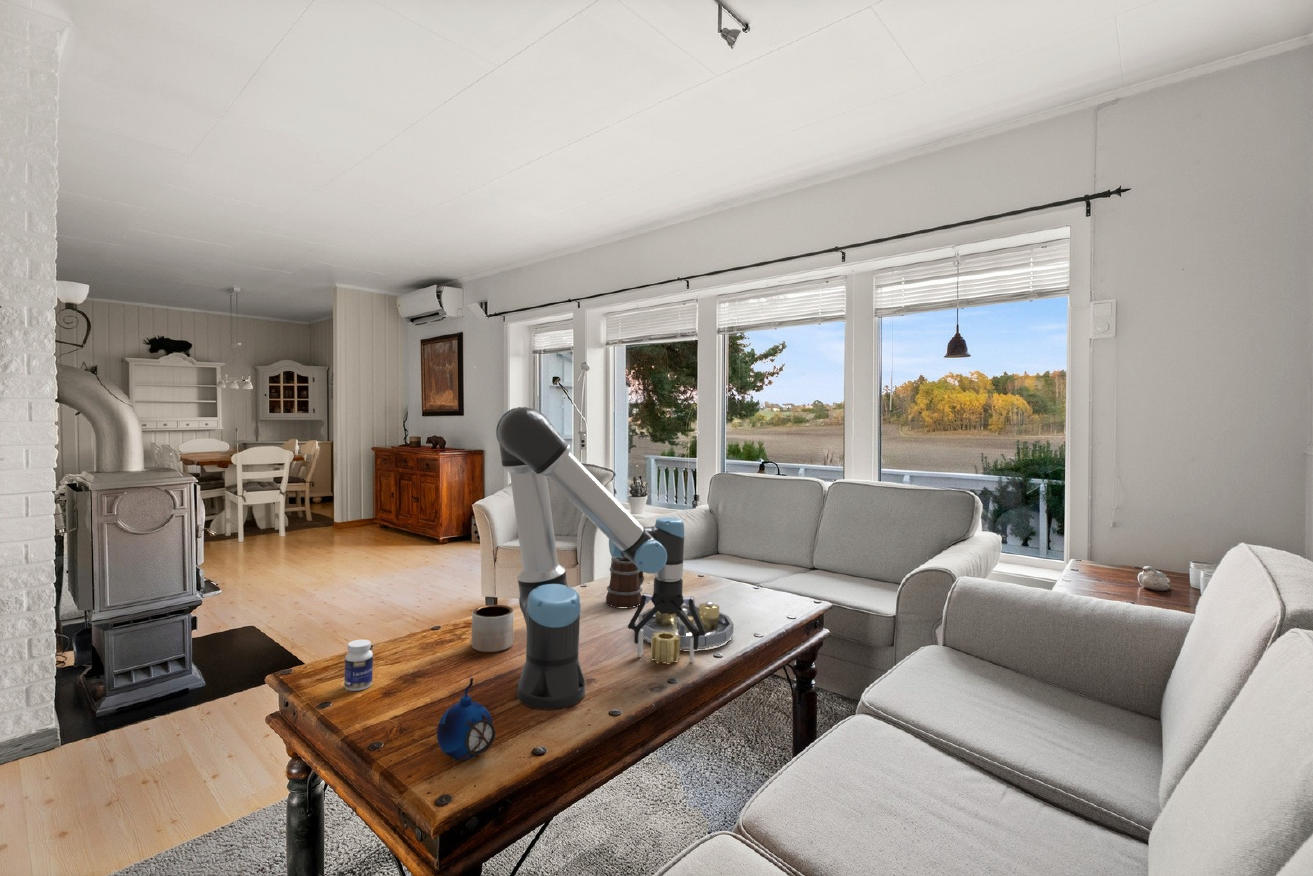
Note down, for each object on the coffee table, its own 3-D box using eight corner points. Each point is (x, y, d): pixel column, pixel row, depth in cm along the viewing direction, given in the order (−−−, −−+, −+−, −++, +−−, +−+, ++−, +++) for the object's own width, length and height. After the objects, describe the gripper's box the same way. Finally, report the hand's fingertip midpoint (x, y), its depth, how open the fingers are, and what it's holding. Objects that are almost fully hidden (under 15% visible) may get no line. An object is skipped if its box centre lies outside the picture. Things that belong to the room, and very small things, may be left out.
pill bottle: (353, 694, 136) (354, 649, 135) (339, 687, 139) (339, 643, 138) (377, 685, 141) (378, 642, 140) (362, 678, 144) (363, 636, 143)
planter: (521, 646, 166) (522, 611, 166) (485, 657, 158) (486, 620, 158) (498, 635, 174) (499, 601, 173) (463, 645, 166) (464, 610, 165)
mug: (627, 611, 199) (629, 565, 198) (598, 603, 206) (600, 558, 205) (655, 600, 212) (657, 556, 211) (628, 593, 219) (629, 551, 218)
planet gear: (661, 666, 156) (662, 643, 156) (645, 656, 162) (646, 634, 162) (684, 660, 161) (685, 638, 160) (668, 651, 167) (668, 629, 166)
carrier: (676, 658, 162) (677, 623, 161) (621, 627, 184) (622, 595, 183) (751, 639, 177) (752, 607, 177) (692, 612, 199) (693, 583, 199)
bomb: (457, 781, 106) (459, 695, 105) (426, 755, 113) (427, 675, 113) (506, 758, 113) (508, 678, 113) (473, 736, 121) (475, 660, 120)
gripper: (717, 577, 162) (714, 657, 163) (624, 570, 166) (622, 648, 167) (715, 585, 155) (712, 668, 156) (618, 577, 159) (615, 659, 160)
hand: (665, 658), depth 162 cm, fingers open, 13 cm apart
